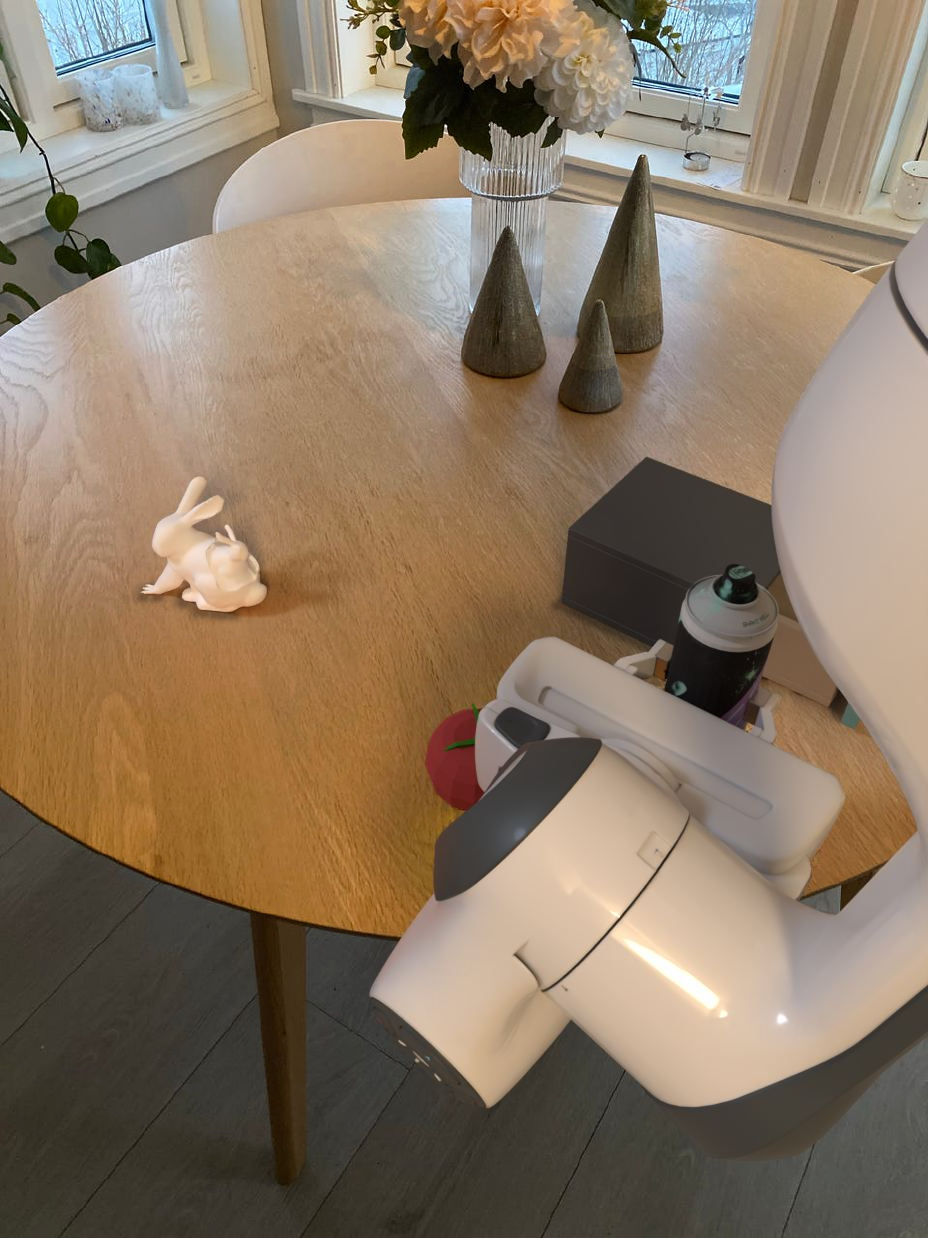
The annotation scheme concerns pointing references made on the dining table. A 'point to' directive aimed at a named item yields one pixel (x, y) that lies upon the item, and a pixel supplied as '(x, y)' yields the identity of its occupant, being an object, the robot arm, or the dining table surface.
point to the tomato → (455, 759)
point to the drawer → (799, 658)
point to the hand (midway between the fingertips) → (717, 673)
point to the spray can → (722, 643)
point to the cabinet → (661, 548)
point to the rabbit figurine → (205, 558)
